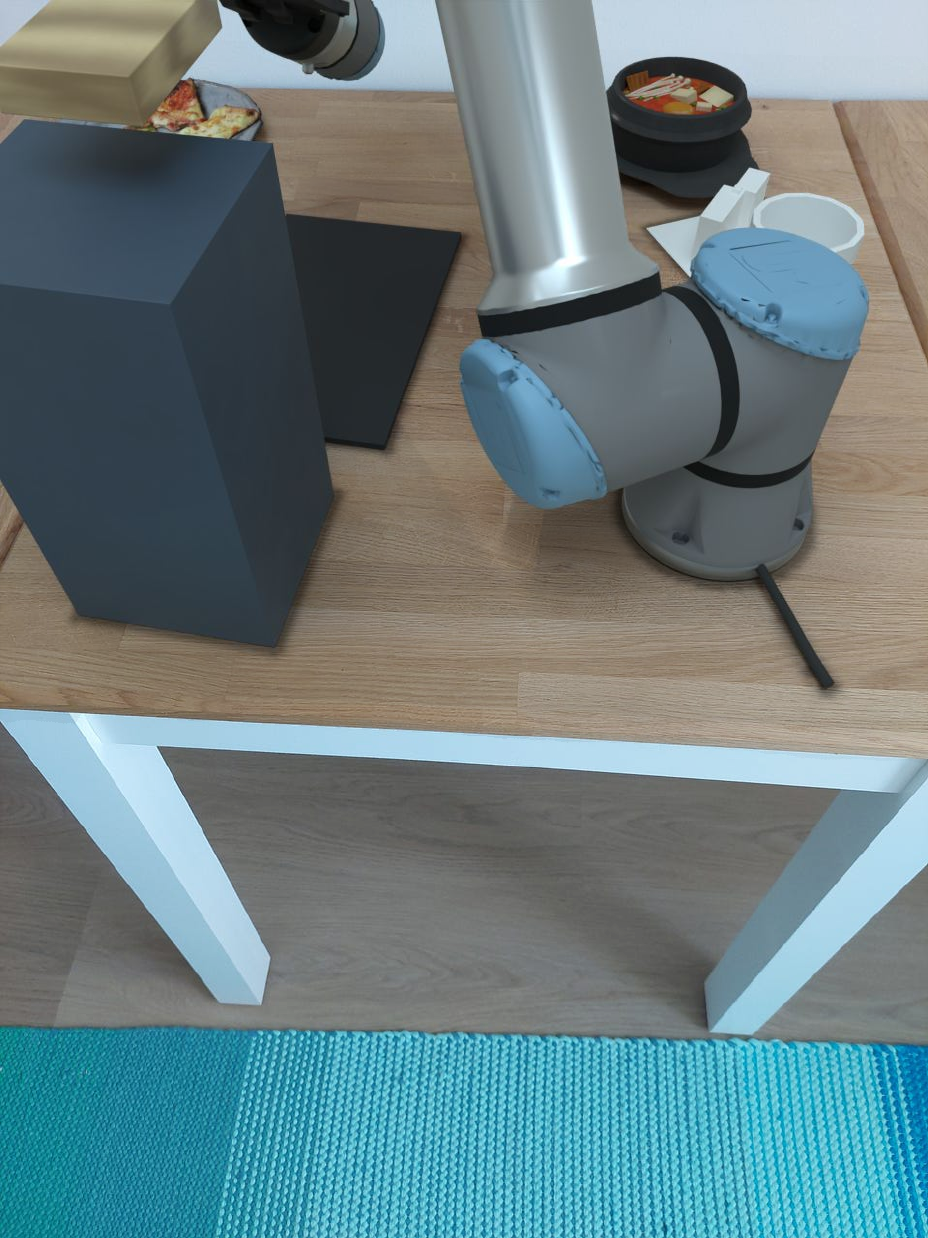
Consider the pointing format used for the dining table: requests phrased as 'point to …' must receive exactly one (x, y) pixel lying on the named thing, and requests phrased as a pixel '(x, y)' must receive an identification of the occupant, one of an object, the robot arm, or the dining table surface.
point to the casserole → (680, 125)
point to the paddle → (103, 58)
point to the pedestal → (158, 377)
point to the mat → (366, 316)
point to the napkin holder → (713, 218)
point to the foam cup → (813, 221)
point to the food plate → (201, 112)
